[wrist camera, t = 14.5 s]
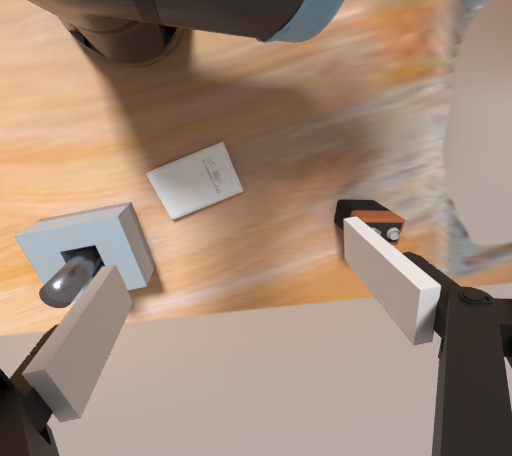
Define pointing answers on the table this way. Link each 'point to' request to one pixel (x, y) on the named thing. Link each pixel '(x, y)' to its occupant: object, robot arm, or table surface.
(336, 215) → the battery
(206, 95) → the table surface
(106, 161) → the table surface
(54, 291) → the pin
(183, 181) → the external hard drive
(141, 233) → the socket block
